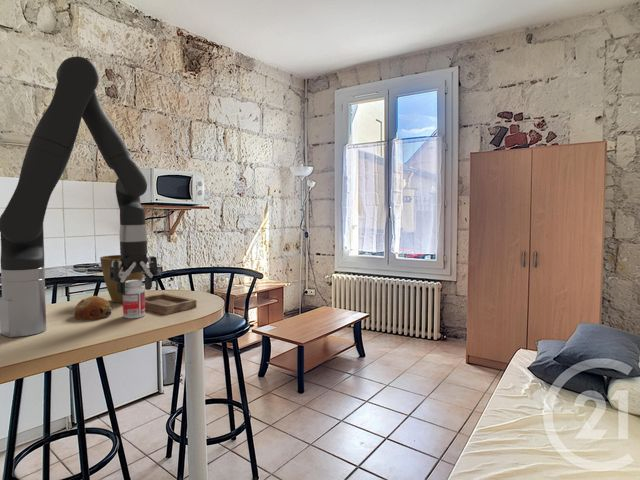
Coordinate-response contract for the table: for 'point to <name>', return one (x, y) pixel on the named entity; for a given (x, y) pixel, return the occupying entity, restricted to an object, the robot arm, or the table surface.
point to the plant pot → (113, 284)
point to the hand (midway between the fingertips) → (135, 291)
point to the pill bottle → (134, 299)
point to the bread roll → (92, 308)
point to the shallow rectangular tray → (168, 303)
